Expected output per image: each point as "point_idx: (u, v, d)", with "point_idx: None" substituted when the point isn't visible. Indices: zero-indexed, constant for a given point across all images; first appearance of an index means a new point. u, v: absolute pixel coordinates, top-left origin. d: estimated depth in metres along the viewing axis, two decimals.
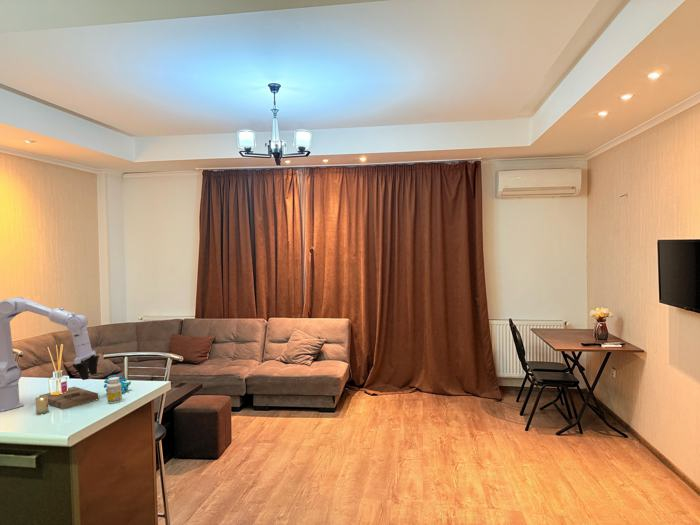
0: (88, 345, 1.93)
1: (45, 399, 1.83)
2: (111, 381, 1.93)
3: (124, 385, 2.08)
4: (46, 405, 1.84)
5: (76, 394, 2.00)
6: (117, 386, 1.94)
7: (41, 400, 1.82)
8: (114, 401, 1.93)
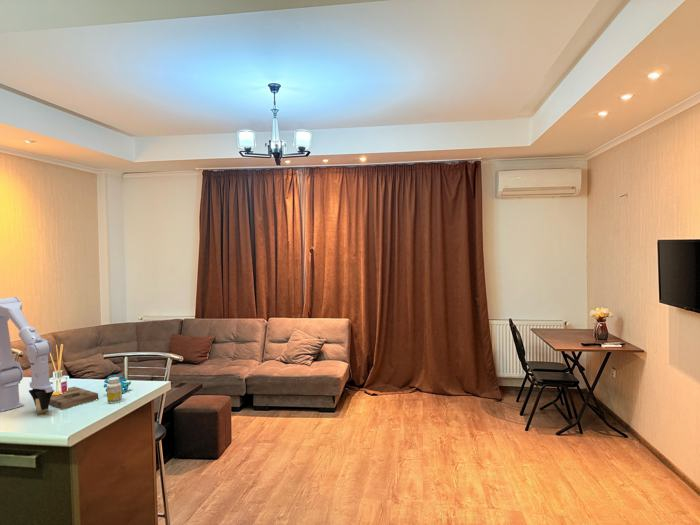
0: (48, 373, 1.85)
1: None
2: (111, 381, 1.93)
3: (124, 385, 2.08)
4: None
5: (76, 394, 2.00)
6: (117, 386, 1.94)
7: None
8: (114, 401, 1.93)
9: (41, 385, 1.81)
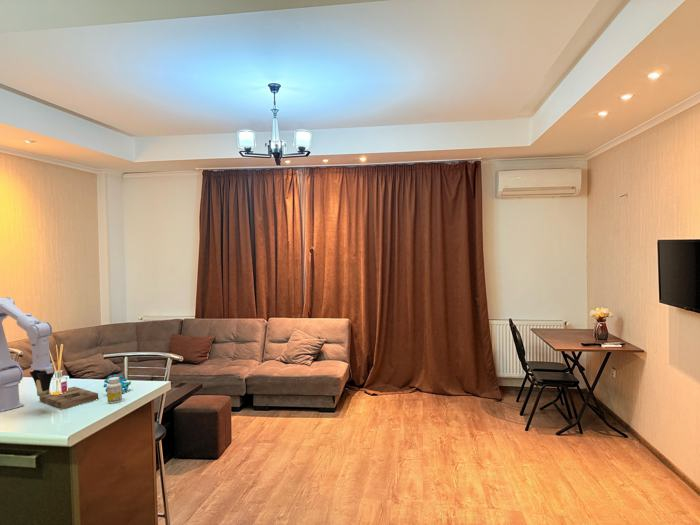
0: (49, 355, 1.86)
1: None
2: (111, 381, 1.93)
3: (124, 385, 2.08)
4: None
5: (76, 394, 2.00)
6: (117, 386, 1.94)
7: None
8: (114, 401, 1.93)
9: (42, 366, 1.82)
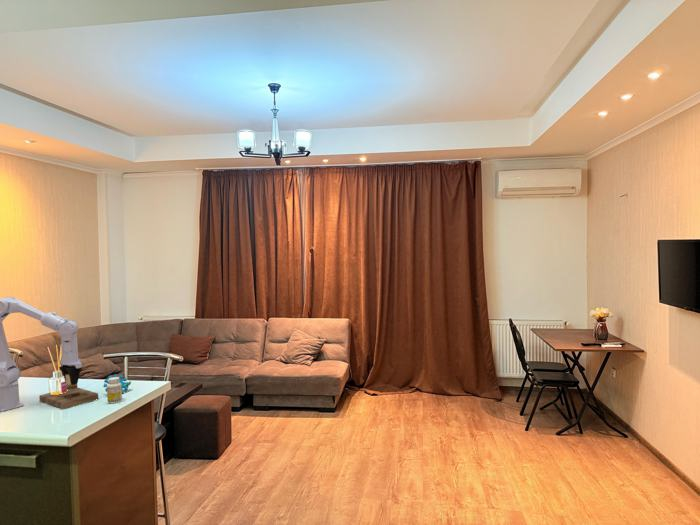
0: (77, 351, 1.98)
1: None
2: (111, 381, 1.93)
3: (124, 385, 2.08)
4: None
5: (76, 394, 2.00)
6: (117, 386, 1.94)
7: None
8: (114, 401, 1.93)
9: (71, 361, 1.94)
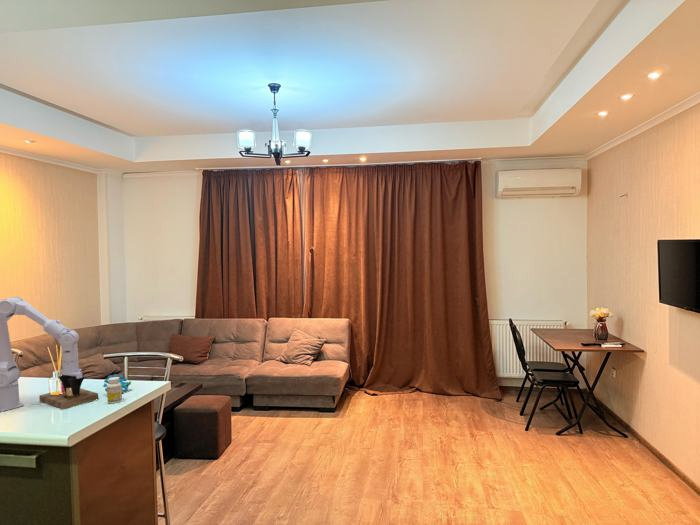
0: None
1: None
2: (111, 381, 1.93)
3: (124, 385, 2.08)
4: None
5: None
6: (117, 386, 1.94)
7: None
8: (114, 401, 1.93)
9: (71, 372, 1.94)
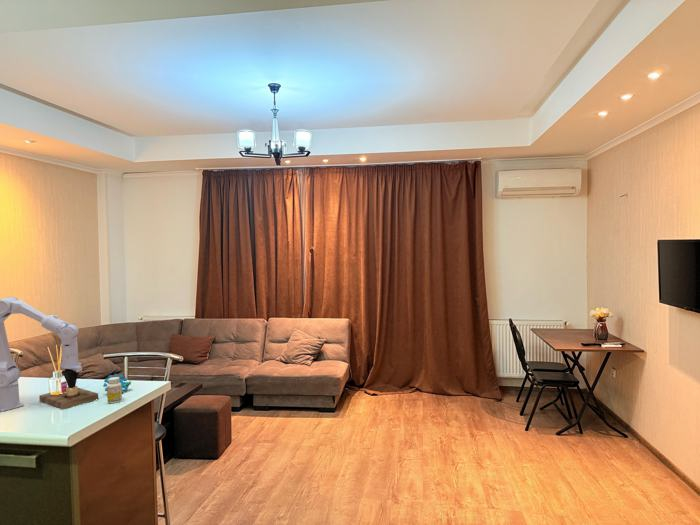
0: (77, 355, 1.98)
1: (75, 388, 1.96)
2: (111, 381, 1.93)
3: (124, 385, 2.08)
4: (76, 394, 1.97)
5: None
6: (117, 386, 1.94)
7: (72, 389, 1.95)
8: (114, 401, 1.93)
9: (71, 365, 1.94)
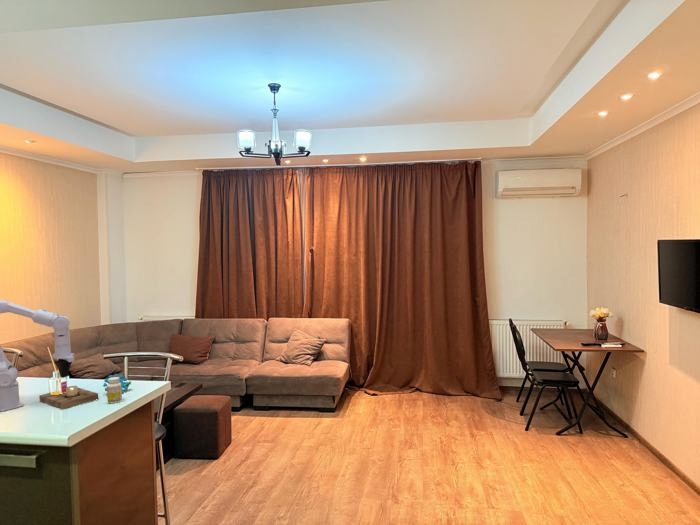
0: (70, 345, 2.01)
1: (75, 388, 1.96)
2: (111, 381, 1.93)
3: (124, 385, 2.08)
4: (76, 394, 1.97)
5: None
6: (117, 386, 1.94)
7: (72, 389, 1.95)
8: (114, 401, 1.93)
9: (64, 355, 1.98)
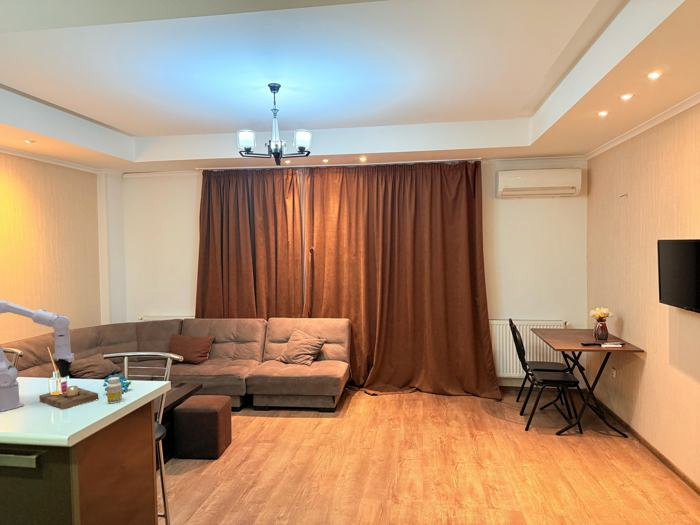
0: (70, 345, 2.01)
1: (76, 388, 1.96)
2: (111, 381, 1.93)
3: (124, 385, 2.08)
4: (76, 394, 1.97)
5: None
6: (117, 386, 1.94)
7: (72, 389, 1.95)
8: (114, 401, 1.93)
9: (64, 355, 1.98)
